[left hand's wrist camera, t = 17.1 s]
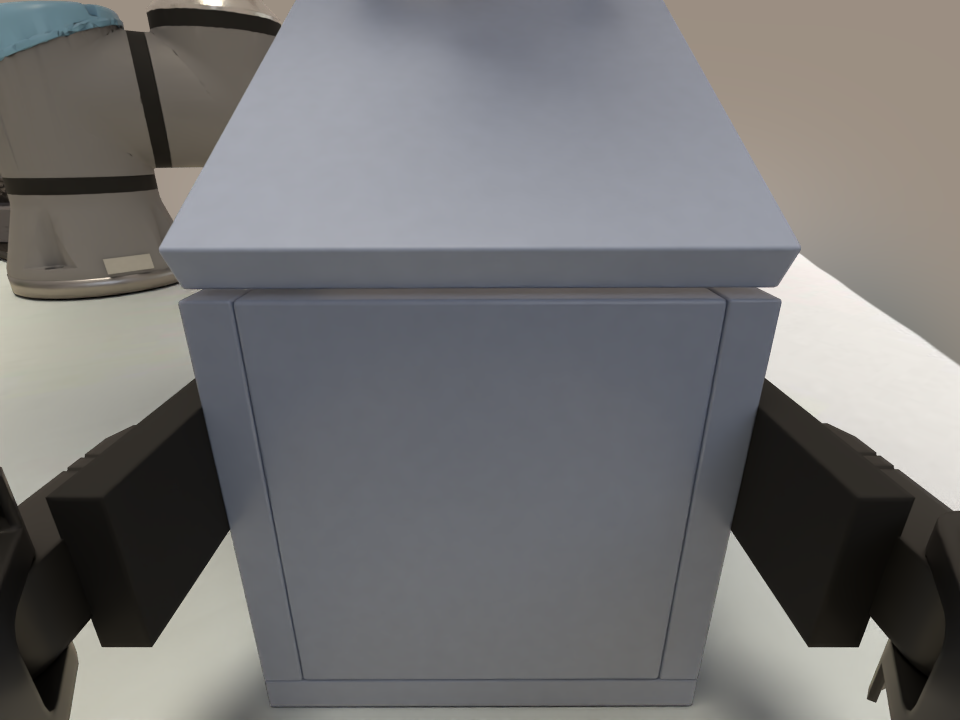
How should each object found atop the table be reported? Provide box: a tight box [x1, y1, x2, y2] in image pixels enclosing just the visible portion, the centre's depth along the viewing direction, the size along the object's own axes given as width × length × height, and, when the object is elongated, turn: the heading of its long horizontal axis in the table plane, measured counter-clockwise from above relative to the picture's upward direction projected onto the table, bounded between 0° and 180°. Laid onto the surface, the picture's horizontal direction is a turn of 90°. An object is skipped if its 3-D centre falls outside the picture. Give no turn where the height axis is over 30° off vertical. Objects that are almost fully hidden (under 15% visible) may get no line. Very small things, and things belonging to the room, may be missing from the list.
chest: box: [178, 287, 781, 706], centre depth 17 cm, size 14×10×10 cm
